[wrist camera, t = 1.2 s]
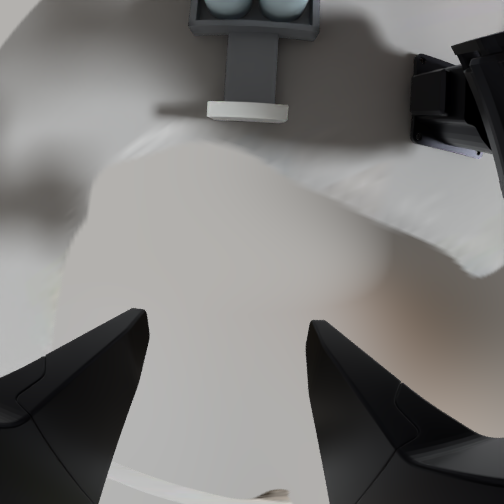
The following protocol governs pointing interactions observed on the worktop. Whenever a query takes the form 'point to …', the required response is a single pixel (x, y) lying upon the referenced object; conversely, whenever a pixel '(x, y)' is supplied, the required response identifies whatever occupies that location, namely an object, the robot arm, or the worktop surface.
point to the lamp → (252, 59)
